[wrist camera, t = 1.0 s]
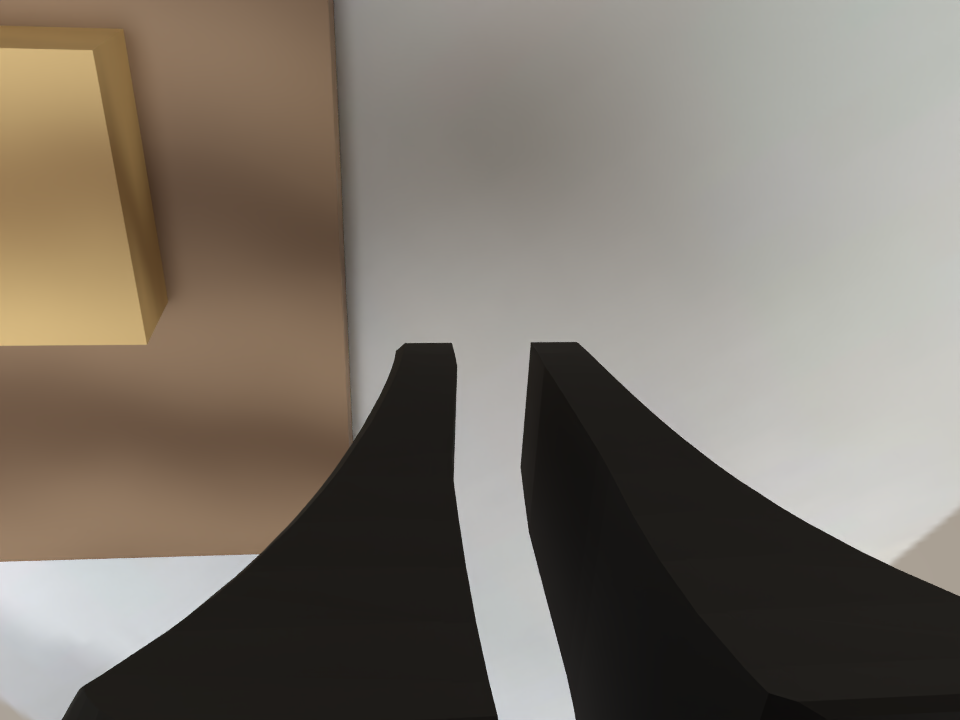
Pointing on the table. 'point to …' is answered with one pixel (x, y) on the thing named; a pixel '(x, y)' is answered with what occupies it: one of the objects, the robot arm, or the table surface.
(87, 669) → the table surface
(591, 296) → the table surface
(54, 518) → the deck
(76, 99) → the tile
